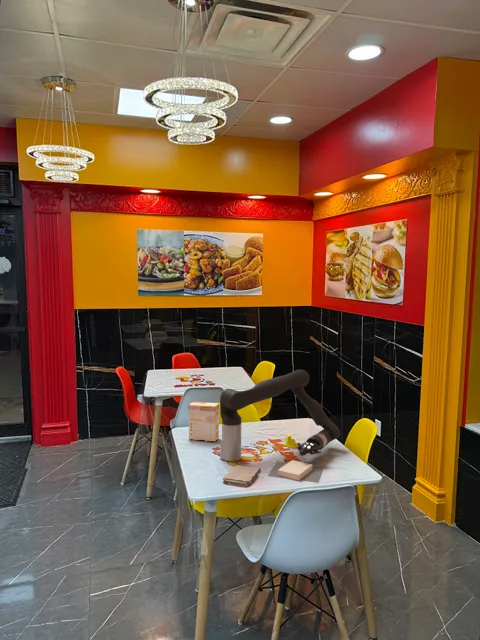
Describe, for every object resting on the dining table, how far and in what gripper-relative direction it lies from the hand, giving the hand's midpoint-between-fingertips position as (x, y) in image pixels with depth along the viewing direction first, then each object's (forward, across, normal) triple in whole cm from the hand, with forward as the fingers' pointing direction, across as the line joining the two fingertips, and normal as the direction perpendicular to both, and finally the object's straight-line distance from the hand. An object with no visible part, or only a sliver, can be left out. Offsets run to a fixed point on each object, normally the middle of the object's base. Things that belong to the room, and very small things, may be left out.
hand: (301, 453), depth 213 cm
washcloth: (+21, -18, +9) cm, 29 cm away
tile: (-1, 0, +6) cm, 6 cm away
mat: (+4, 0, +8) cm, 9 cm away
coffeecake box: (-10, -62, +8) cm, 63 cm away
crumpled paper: (-25, -17, +8) cm, 31 cm away
